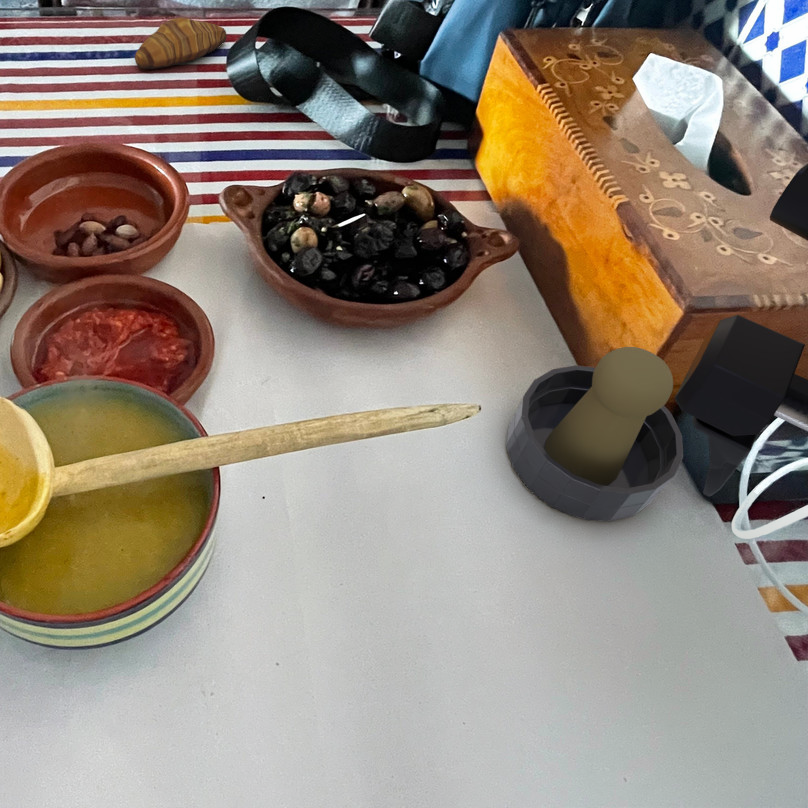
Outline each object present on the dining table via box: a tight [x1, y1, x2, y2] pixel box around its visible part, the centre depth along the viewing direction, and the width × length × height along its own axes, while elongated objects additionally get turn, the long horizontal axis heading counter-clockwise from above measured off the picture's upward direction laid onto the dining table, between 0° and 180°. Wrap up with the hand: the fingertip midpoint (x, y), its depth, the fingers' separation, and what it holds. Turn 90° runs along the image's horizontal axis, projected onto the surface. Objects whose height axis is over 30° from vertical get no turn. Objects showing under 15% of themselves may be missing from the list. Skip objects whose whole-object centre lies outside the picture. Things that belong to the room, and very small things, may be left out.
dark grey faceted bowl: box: [505, 364, 684, 522], centre depth 60 cm, size 12×12×4 cm
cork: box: [545, 346, 674, 486], centre depth 57 cm, size 6×6×11 cm
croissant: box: [134, 17, 228, 70], centre depth 96 cm, size 14×7×5 cm, turn 129°
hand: (789, 532), depth 43 cm, fingers open, 9 cm apart
